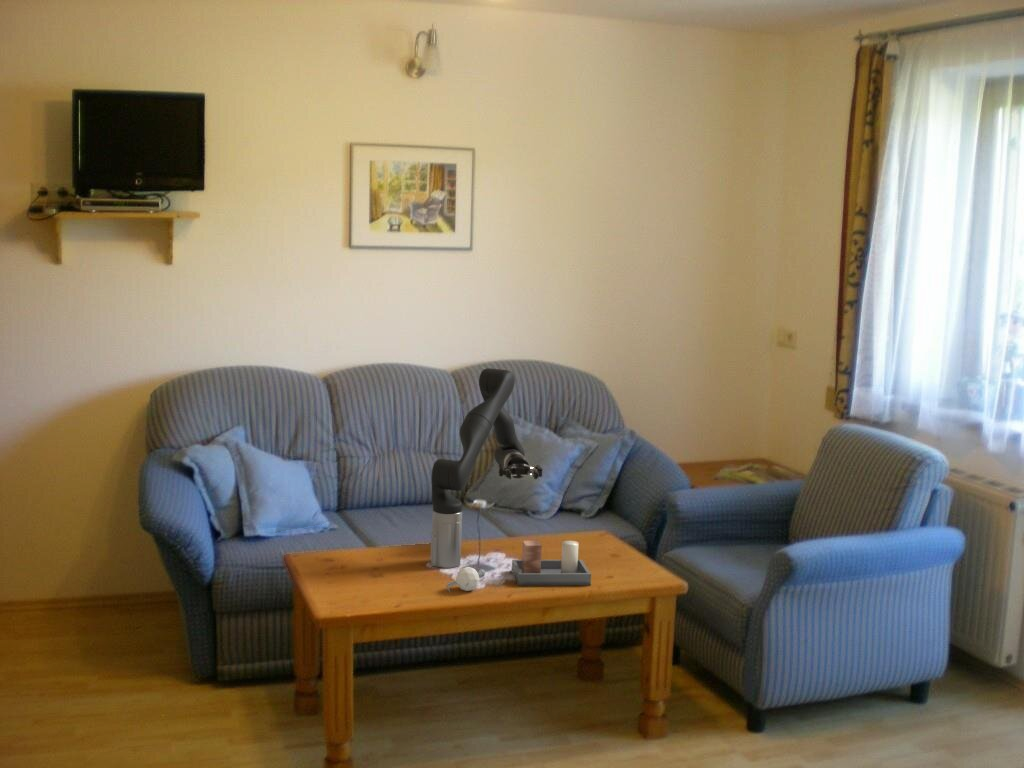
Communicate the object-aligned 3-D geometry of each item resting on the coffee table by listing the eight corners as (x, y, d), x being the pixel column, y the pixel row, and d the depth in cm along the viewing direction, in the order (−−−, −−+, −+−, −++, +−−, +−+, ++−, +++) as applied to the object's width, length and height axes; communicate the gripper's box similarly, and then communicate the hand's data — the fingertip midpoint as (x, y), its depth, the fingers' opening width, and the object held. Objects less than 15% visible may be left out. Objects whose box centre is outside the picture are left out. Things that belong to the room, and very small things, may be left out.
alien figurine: (454, 602, 318) (492, 586, 321) (447, 580, 316) (485, 564, 319) (447, 594, 325) (484, 578, 328) (440, 573, 323) (477, 557, 326)
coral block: (523, 577, 333) (525, 545, 331) (521, 572, 338) (522, 540, 336) (540, 577, 333) (541, 545, 332) (537, 572, 338) (539, 540, 337)
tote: (518, 585, 328) (518, 574, 328) (511, 570, 342) (512, 559, 341) (590, 585, 331) (591, 574, 331) (581, 570, 345) (581, 559, 344)
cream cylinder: (562, 577, 334) (563, 545, 333) (559, 571, 339) (560, 540, 338) (578, 577, 335) (580, 545, 334) (575, 571, 340) (576, 540, 339)
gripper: (495, 453, 370) (501, 464, 354) (537, 454, 372) (545, 465, 356) (494, 475, 371) (500, 487, 355) (536, 475, 373) (544, 487, 357)
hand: (523, 476), depth 355 cm, fingers open, 8 cm apart
